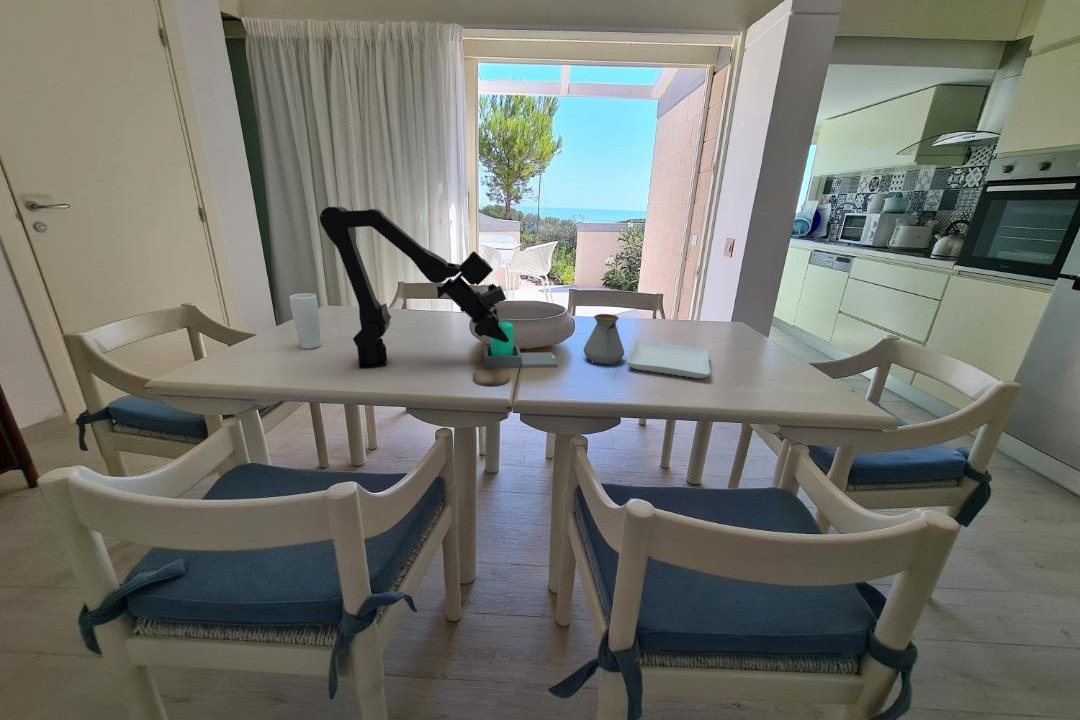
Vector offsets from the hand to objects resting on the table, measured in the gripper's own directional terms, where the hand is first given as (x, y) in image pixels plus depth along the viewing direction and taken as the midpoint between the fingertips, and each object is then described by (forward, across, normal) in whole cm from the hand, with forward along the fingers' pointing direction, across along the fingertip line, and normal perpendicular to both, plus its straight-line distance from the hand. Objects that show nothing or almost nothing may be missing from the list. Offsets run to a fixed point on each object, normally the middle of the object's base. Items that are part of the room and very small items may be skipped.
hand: (507, 338), depth 117 cm
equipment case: (+7, 0, +2) cm, 8 cm away
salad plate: (+37, -5, -27) cm, 46 cm away
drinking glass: (-34, +15, +45) cm, 58 cm away
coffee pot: (+24, -5, -14) cm, 28 cm away
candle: (+4, 0, +6) cm, 7 cm away
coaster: (+1, -13, +8) cm, 15 cm away
